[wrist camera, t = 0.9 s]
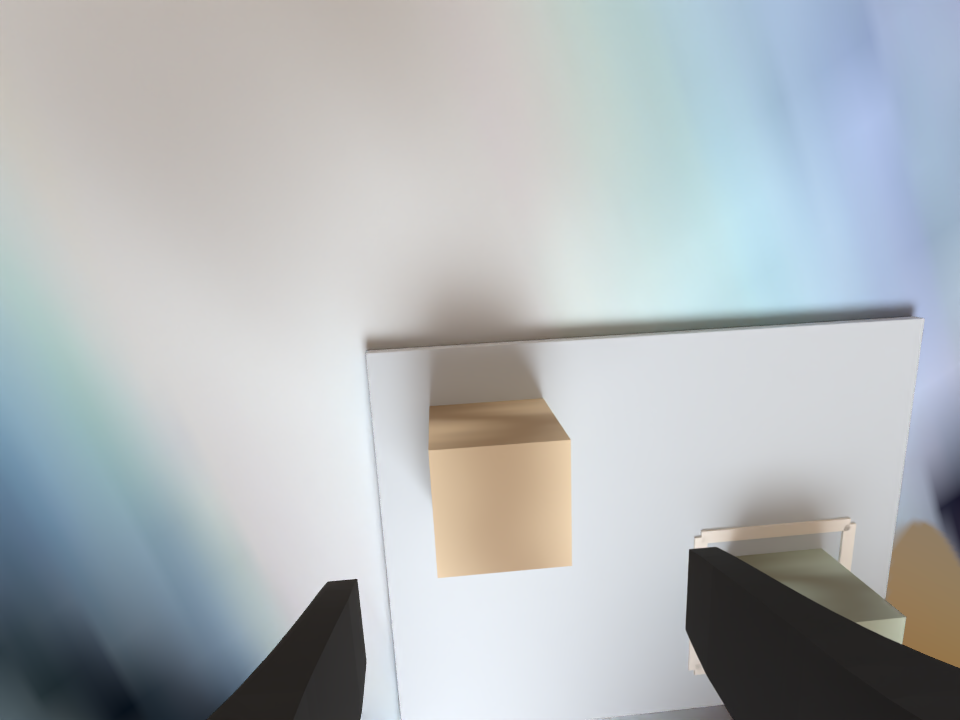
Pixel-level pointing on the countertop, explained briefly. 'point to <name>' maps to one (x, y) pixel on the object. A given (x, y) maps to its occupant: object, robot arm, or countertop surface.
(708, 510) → the white rectangular panel
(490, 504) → the maple cube
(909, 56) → the countertop surface
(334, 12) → the countertop surface
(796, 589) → the sage base cube
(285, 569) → the countertop surface
